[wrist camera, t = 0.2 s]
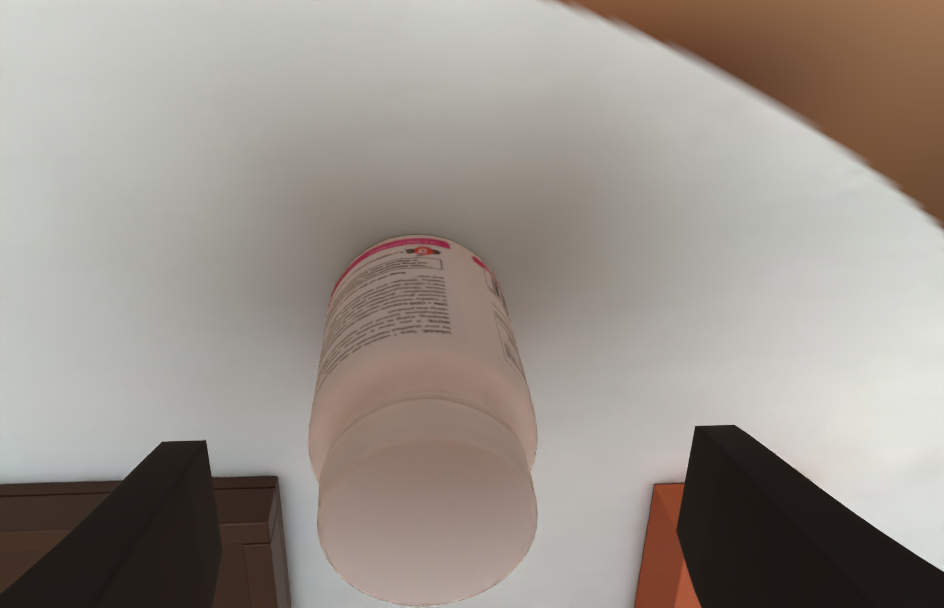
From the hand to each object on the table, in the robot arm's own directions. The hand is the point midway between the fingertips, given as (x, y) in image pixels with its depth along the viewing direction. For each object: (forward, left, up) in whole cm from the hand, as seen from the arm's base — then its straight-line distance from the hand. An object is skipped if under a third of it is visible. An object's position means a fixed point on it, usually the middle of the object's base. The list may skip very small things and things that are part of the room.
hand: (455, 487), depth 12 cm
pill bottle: (-2, 0, -10) cm, 10 cm away
